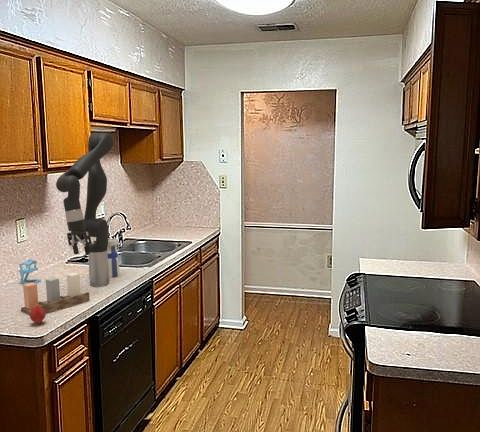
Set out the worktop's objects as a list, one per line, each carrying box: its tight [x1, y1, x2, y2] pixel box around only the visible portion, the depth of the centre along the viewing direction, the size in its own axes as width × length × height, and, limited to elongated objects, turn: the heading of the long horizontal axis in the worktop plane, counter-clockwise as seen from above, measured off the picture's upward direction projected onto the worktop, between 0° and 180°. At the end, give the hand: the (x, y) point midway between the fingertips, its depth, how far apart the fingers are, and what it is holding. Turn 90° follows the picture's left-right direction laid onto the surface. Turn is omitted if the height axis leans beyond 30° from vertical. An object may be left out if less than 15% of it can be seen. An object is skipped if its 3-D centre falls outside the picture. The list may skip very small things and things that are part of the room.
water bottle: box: [107, 238, 121, 279], centre depth 259 cm, size 8×9×25 cm
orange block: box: [22, 282, 39, 309], centre depth 208 cm, size 4×4×10 cm
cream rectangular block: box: [66, 272, 81, 297], centre depth 223 cm, size 4×4×10 cm
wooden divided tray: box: [20, 291, 91, 316], centre depth 215 cm, size 26×11×4 cm, turn 139°
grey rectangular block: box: [45, 276, 61, 303], centre depth 216 cm, size 4×4×10 cm
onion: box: [29, 304, 46, 325], centre depth 195 cm, size 6×6×8 cm
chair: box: [18, 259, 42, 285], centre depth 249 cm, size 8×8×12 cm
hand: (82, 254), depth 226 cm, fingers open, 8 cm apart
